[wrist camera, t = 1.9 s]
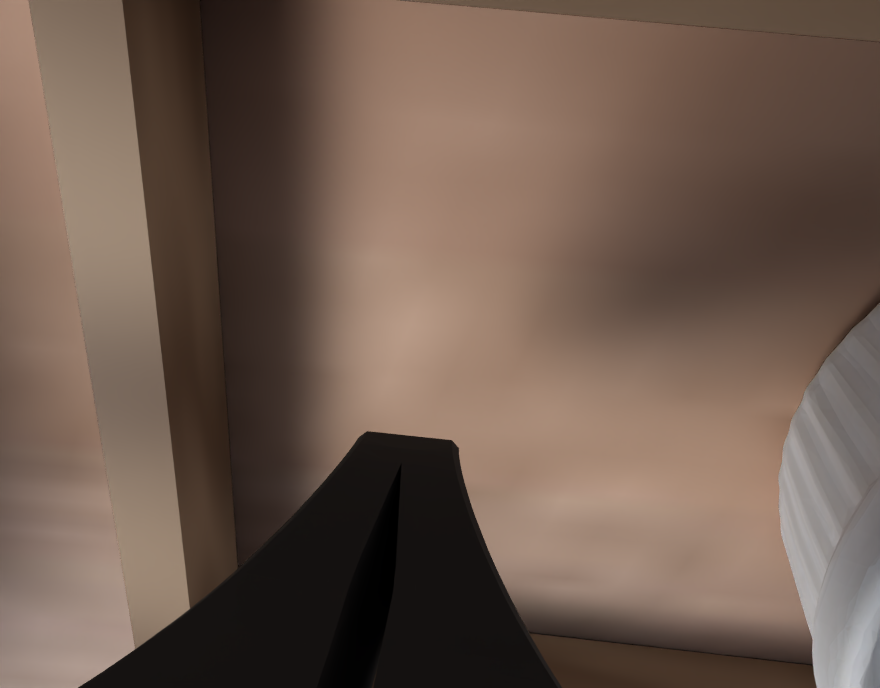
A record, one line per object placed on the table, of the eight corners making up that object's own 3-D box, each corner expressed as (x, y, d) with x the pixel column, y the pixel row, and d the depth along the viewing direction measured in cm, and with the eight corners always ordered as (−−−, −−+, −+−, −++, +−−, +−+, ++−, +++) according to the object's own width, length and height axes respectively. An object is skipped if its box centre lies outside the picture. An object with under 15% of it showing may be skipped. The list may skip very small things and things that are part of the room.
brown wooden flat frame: (1148, 734, 16) (1254, 851, 14) (193, 625, 17) (147, 719, 15) (1718, 33, 10) (2094, 41, 7) (113, -101, 10) (7, -131, 8)
